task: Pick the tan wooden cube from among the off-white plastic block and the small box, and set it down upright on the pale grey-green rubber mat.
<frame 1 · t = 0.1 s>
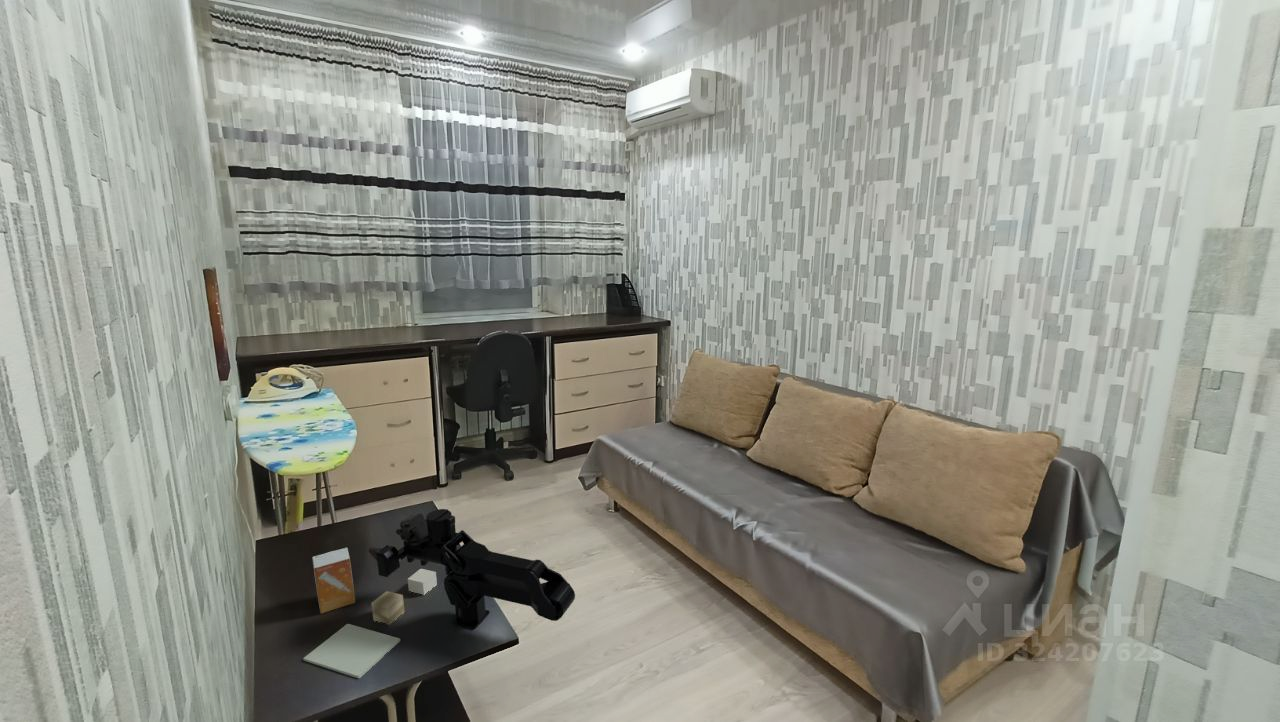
hand: (383, 540, 141), 17 cm above the table, tool horizontal, fingers open, 9 cm apart
mat: (353, 650, 126), on the table
plastic block: (423, 588, 149), on the table
tan wooden cube: (389, 616, 138), on the table
small box: (337, 603, 143), on the table
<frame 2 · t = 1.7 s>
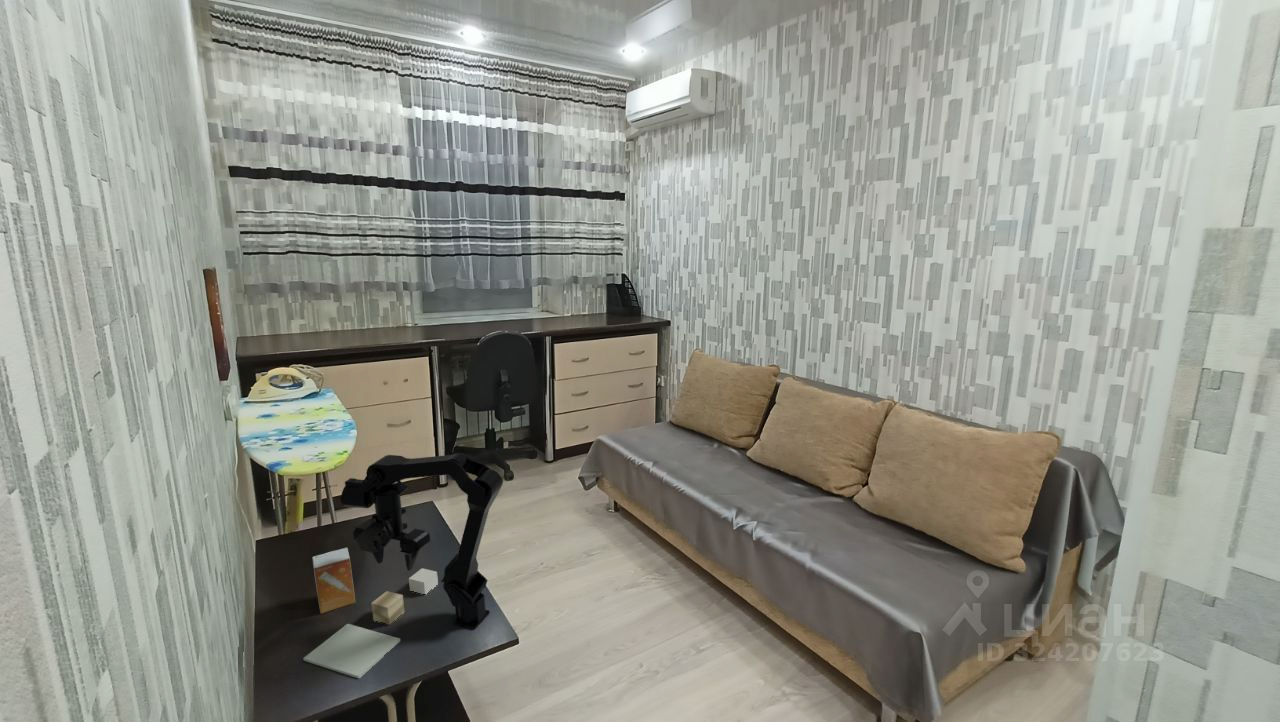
hand: (394, 566, 137), 13 cm above the table, tool pointing down, fingers open, 9 cm apart
nothing on the table moved.
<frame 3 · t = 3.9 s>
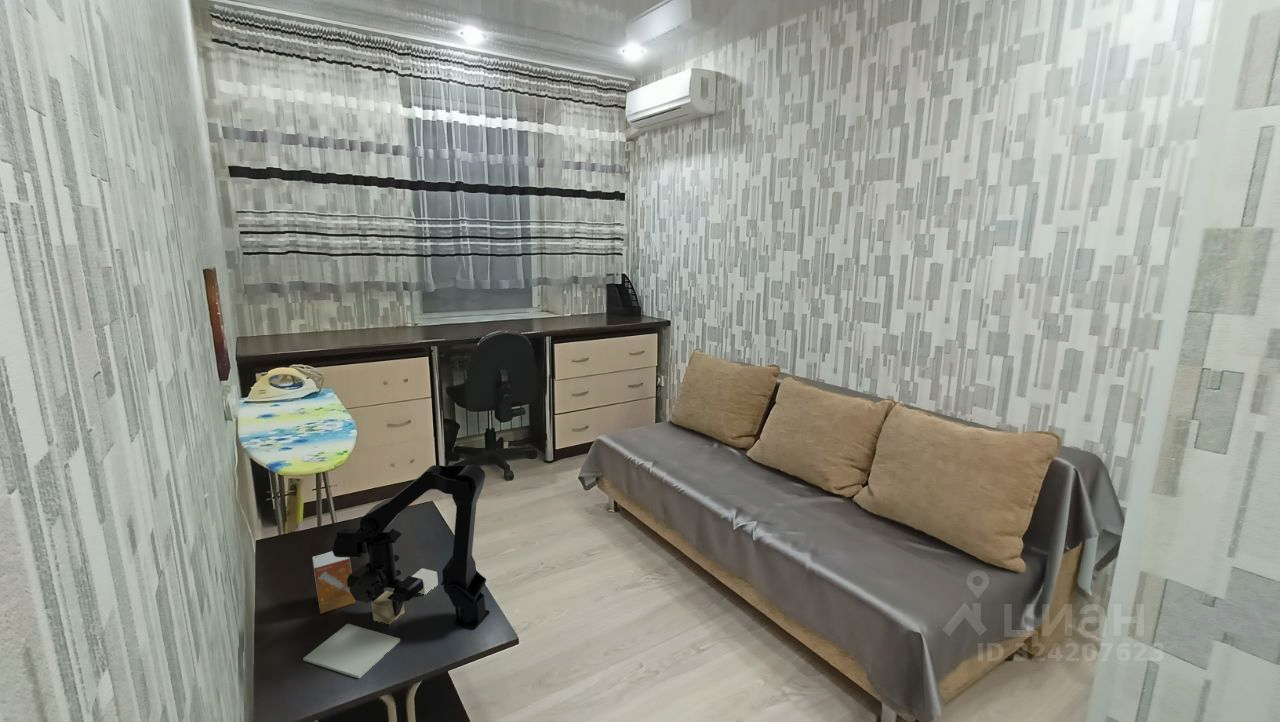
hand: (388, 612, 138), 1 cm above the table, tool pointing down, fingers closed on tan wooden cube, 5 cm apart
tan wooden cube: (389, 616, 138), on the table, touching gripper
everything else where it was.
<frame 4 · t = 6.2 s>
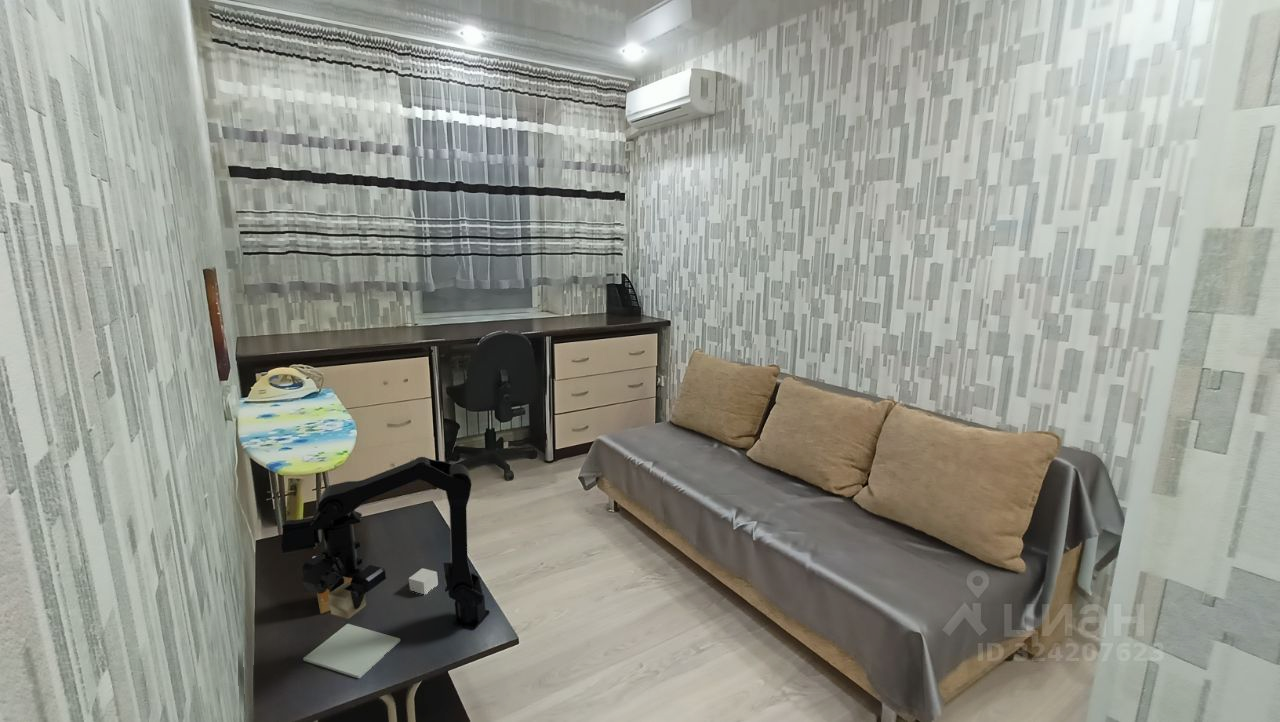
hand: (348, 605, 125), 11 cm above the table, tool pointing down, fingers closed on tan wooden cube, 5 cm apart
tan wooden cube: (348, 609, 125), point 10 cm above the table, touching gripper
everything else where it was.
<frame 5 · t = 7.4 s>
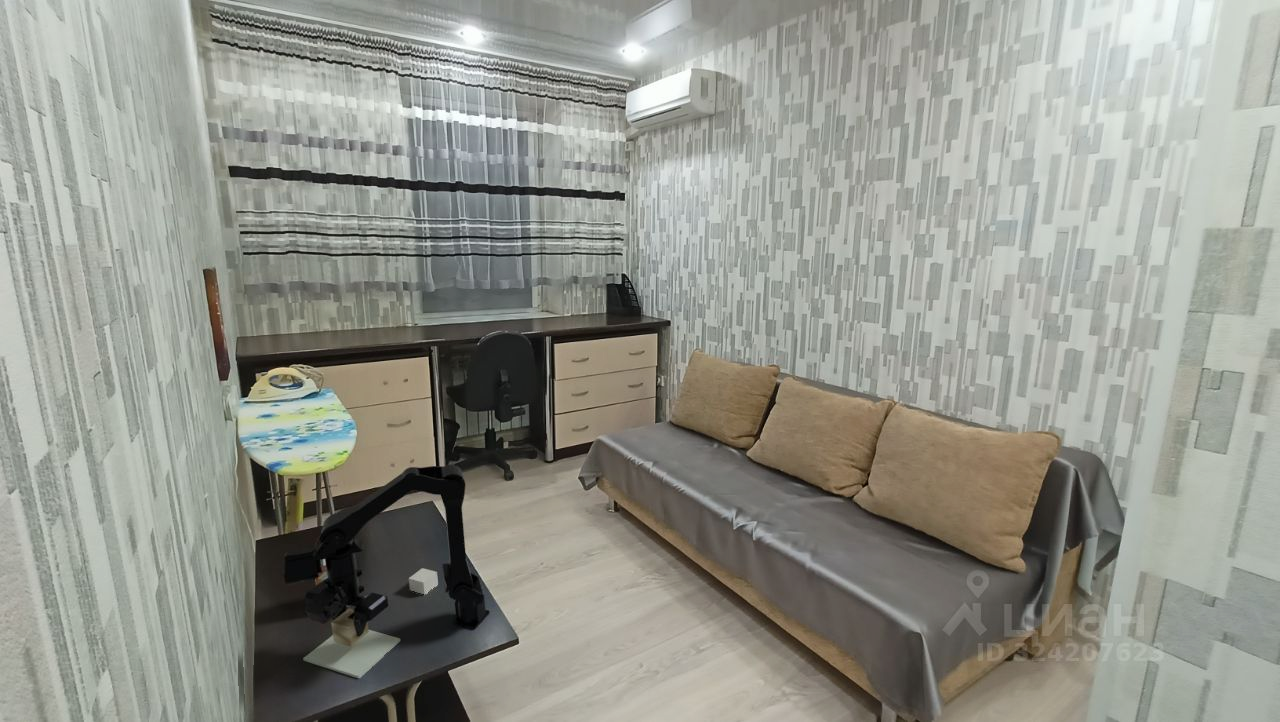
hand: (351, 632, 125), 5 cm above the table, tool pointing down, fingers closed on tan wooden cube, 5 cm apart
tan wooden cube: (351, 636, 126), point 4 cm above the table, touching gripper
everything else where it was.
when the fingers open (3 cm above the table, at t = 8.5 s): tan wooden cube drops 1 cm, resting on mat.
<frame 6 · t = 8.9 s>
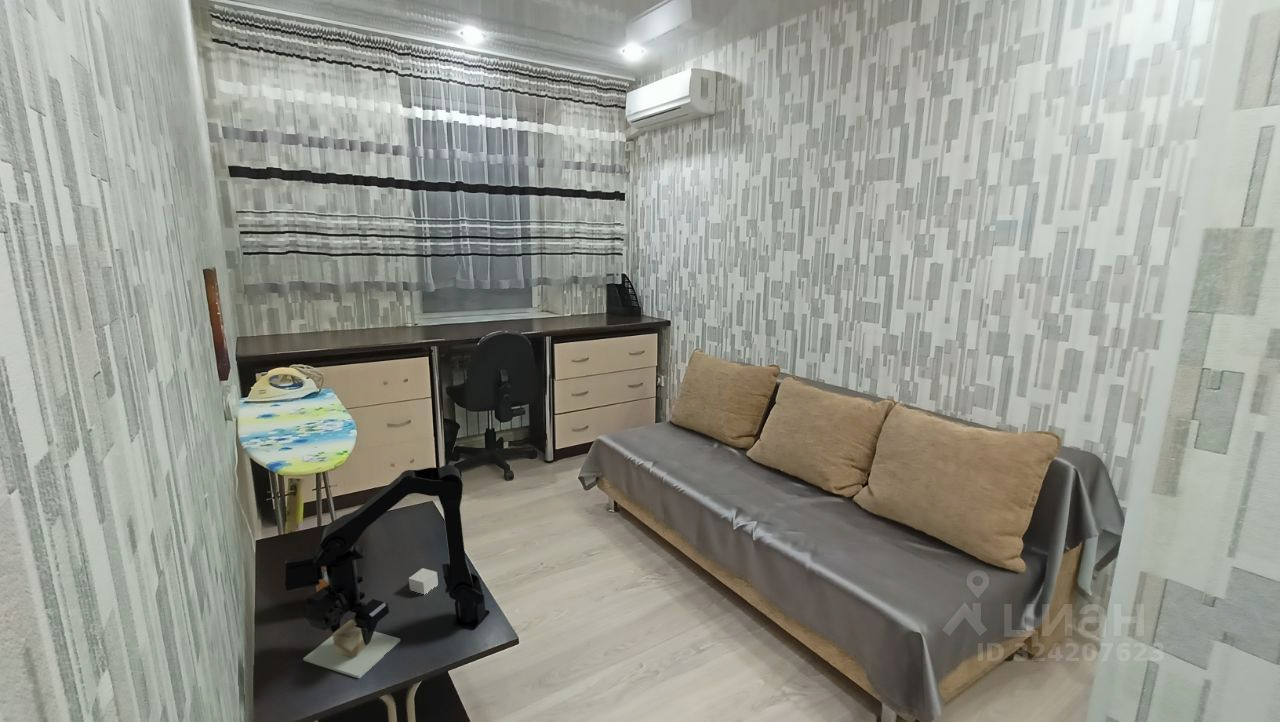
hand: (351, 639, 126), 3 cm above the table, tool pointing down, fingers open, 9 cm apart
tan wooden cube: (352, 648, 126), point 1 cm above the table, touching mat
everything else where it was.
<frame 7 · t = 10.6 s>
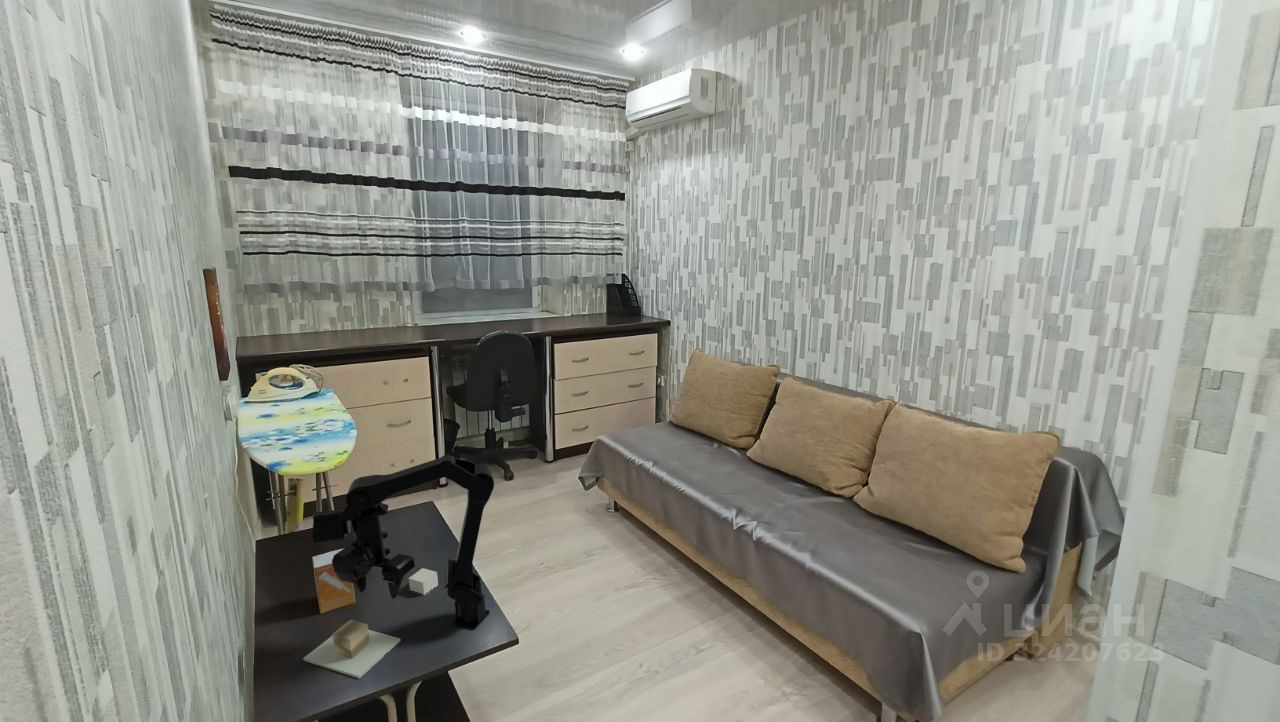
hand: (378, 594, 128), 11 cm above the table, tool pointing down, fingers open, 9 cm apart
nothing on the table moved.
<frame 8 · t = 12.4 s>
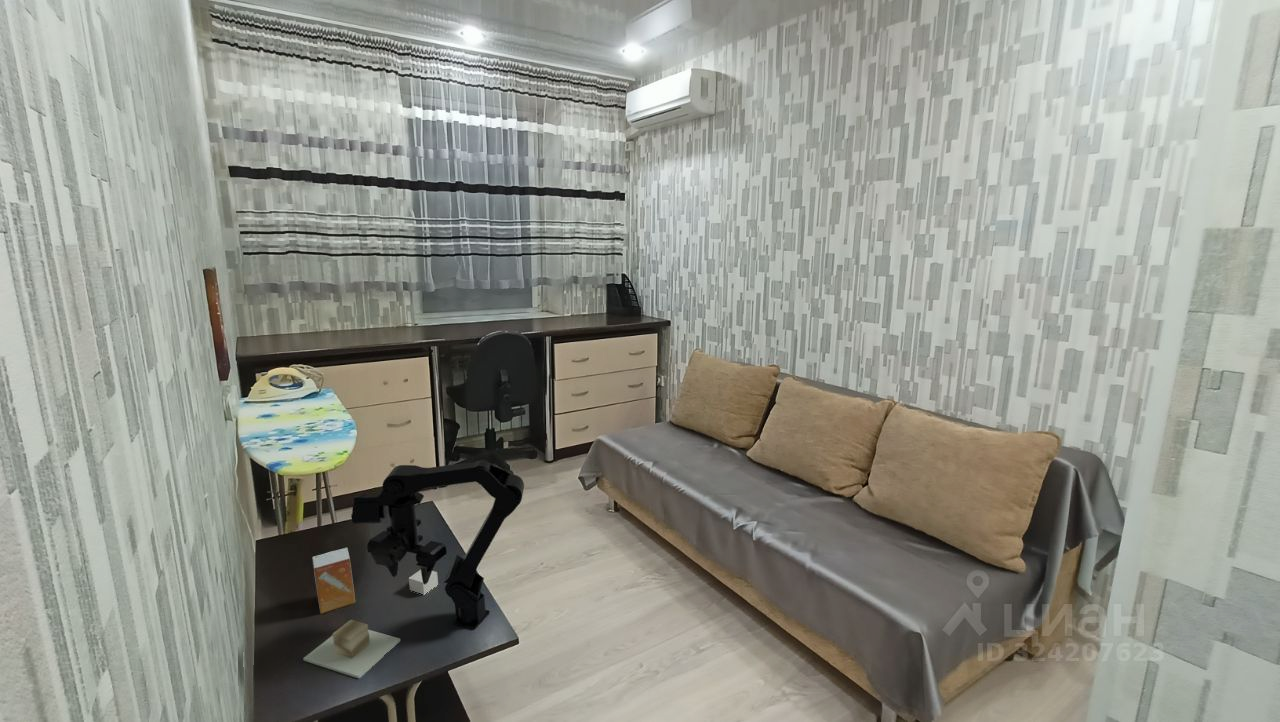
hand: (410, 579, 132), 12 cm above the table, tool pointing down, fingers open, 9 cm apart
nothing on the table moved.
at the end: tan wooden cube inside the target area on the mat (0.0 cm from its centre), point 0.6 cm above the mat's base; tan wooden cube tilted 0°; the gripper is holding nothing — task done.
